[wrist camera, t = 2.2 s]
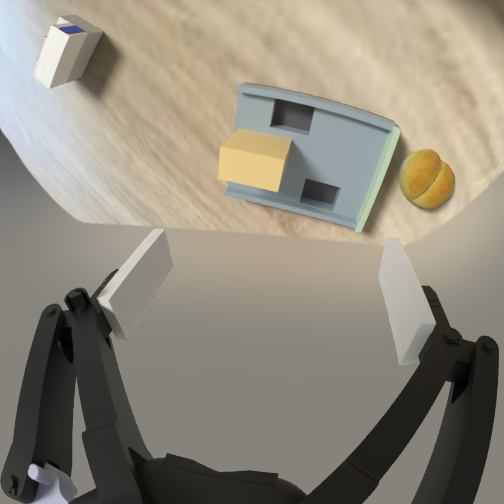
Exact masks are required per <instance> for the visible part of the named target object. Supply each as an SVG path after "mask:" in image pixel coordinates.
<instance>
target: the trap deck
mask: <svg viewBox="0 0 504 504" xmlns="http://www.w3.org/2000/svg"><path fill="white" fill-rule="evenodd" d="M237 92H239V99H238V106H237V114H236V122H235V130H234V133H235V132H236V131H237V130H238V129H239V128H240V129H246V130H251V131H256V132H261V133H266V134H271V135H275V136H280V137H284V138H289V139H292V141H291V146H290V150H289V155H288V160H287V164H286V168H285V171H284V174H283V178H282V181H281V184H280V187H279V190H278V192H274V191H270V190H266V189H261V188H257V187H253V186H248V185H244V184H240V183H235V182H230V181H229V183H228V188H227V189H226V192H225V196H230V197H234V198H238V199H243V200H247V201H251V202H256V203H260V204H264V205H268V206H272V207H276V208H280V209H284V210H288V211H292V212H296V213H300V214H303V215H307V216H311V217H315V218H318V219H322V220H326V221H329V222H333V223H337V224H340V225H344V226H347V227H351V228H354V229H355V232H357V233H361V231H362V229H363V227H364V224H365V222H366V220H367V217H368V215H369V213H370V210H371V208H372V206H373V203H374V201H375V199H376V196H377V194H378V191H379V189H380V186H381V184H382V181H383V179H384V176H385V174H386V171H387V168H388V166H389V163H390V161H391V158H392V155H393V152H394V150H395V147H396V144H397V141H398V138H399V135H400V132H401V128H400V127H399V126H398V125H397V124H396V123H395V122H394V121H393V120H390V119H388V118H385V117H382V116H379V115H376V114H374V113H371V112H368V111H365V110H362V109H359V108H355V107H352V106H349V105H346V104H342V103H339V102H335V101H332V100H328V99H324V98H320V97H317V96H312V95H308V94H304V93H300V92H295V91H291V90H286V89H281V88H276V87H270V86H265V85H259V84H252V83H246V82H245V83H243V84H241V85H238V88H237Z"/></svg>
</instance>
